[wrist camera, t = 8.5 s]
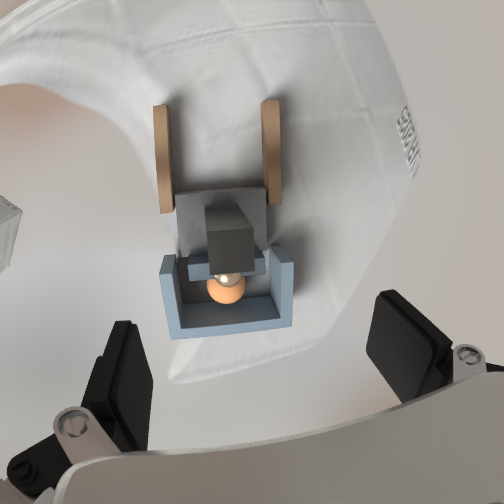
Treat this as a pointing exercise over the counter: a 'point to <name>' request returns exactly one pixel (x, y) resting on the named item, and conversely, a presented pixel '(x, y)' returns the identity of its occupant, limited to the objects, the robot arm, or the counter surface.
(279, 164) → the rail
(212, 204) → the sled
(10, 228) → the skincare box
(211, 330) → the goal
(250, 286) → the counter surface
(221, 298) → the ball
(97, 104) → the counter surface
